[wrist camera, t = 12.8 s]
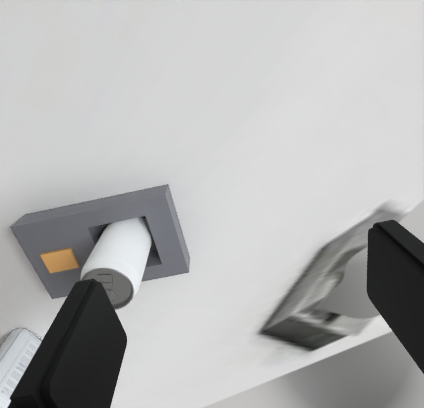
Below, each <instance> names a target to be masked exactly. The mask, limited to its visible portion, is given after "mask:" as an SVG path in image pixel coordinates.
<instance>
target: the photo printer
mask: <svg viewBox="0 0 424 408" xmlns="http://www.w3.org/2000/svg"><path fill="white" fill-rule="evenodd" d="M41 342H42V341H40V340H39V339H38V338H37V337H36V336H34V335H33V334H32V333H31V332H29V331H28V330H26V329H23V328H18V329H15V330H13V331H12V332H11V333H10V334H9V336H8V337H7V339H6V340H5V341H4V343H3V344H2V345H1V347H0V408H8V406H9V404H10V402H11V400H10V399H9V398H10V396H11V395H12V393H13V391H14V389H15V388H16V386H17V384H18V382H19V381H20V379H21V377H22V375H23V374H24V372H25V370H26V368H27V367H28V365H29V363H30V361H31V360H32V358H33V356H34V354H35V353H36V351H37V349H38V347H39V346H40V344H41Z"/></svg>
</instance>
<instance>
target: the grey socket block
mask: <svg viewBox="0 0 424 408" xmlns="http://www.w3.org/2000/svg"><path fill="white" fill-rule="evenodd" d="M142 216H146V219H147V222H148V225H149V228H150V231H151V233H152V236H153V239H154V242H155V245H156V248H157V251H155V252H150V253H149V255H148V259H147V262H146V266H145V270H144V273H143V277H142V280H141V282H142V281H147V280H152V279H158V278H163V277H168V276H173V275H178V274H183V273H189V263H190V257H189V253H188V250H187V246H186V243H185V240H184V236H183V233H182V229H181V226H180V223H179V219H178V216H177V212H176V209H175V206H174V202H173V199H172V196H171V192H170V189H169V185H168V184H167V185H163V186H158V187H153V188H148V189H144V190H139V191H134V192H130V193H125V194H120V195H115V196H111V197H106V198H101V199H96V200H92V201H87V202H82V203H77V204H73V205H68V206H63V207H58V208H54V209H49V210H44V211H40V212H35V213H30V214H25V215H24V216H23V217H22V218H21V219H19V220H18V221H17V222H16V223H15V224H14V225H12V226H11V227H10V228H11V230H12V231H13V233H14V235H15V237H16V238H17V240H18V242H19V243H20V245H21V247H22V249H23V250H24V252H25V254H26V255H27V257H28V259H29V260H30V262H31V264H32V266H33V267H34V269H35V271H36V272H37V274H38V276H39V277H40V279H41V281H42V283H43V284H44V286H45V288H46V289H47V291H48V293H49V294H50V296H51V298H52V299H54V298H59V297H65V296H68V295H69V293H70V291H71V290H72V288H73V286H74V284H75V283H76V282H78V281H80V280H81V272H82V269H83V267H84V265H85V263H86V261H87V259H88V258H89V256H90V254H91V252H92V251H93V249H94V247H95V245H96V244H97V242H98V240H99V239H100V237H101V235H102V233H103V230H102V228H101V225H104V224H108V223H113V222H118V221H123V220H128V219H133V218H138V217H142Z"/></svg>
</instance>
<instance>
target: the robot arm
mask: <svg viewBox="0 0 424 408" xmlns="http://www.w3.org/2000/svg"><path fill="white" fill-rule="evenodd" d="M367 293H368V296H369V299H370V300H371V302H372V303H373V304H374V306H375V307H376V309H377V310H378V311H379V313H380V314H381V316H382V317H383V318H384V320H385V321H386V322H387V324H388V325H389V327H390V328H391V329H392V331H393V332H394V333H395V335H396V336H397V338H398V339H399V340H400V342H401V343H402V344H403V346H404V347H405V349H406V350H407V351H408V353H409V354H410V355H411V357H412V358H413V360H414V361H415V362H416V364H417V365H418V367H419V368H420V369H421V371H422V372H423V373H424V243H423V242H421V241H420V240H419V239H418V238H416V237H415V236H414V235H413V234H411V233H410V232H409V231H408V230H406V229H405V228H404V227H403V226H401V225H400V224H399V223H398V222H396V221H395V220H389V221H384V222H379V223H375V224H374V225H373V228H371V229H369V231H368V262H367ZM126 345H127V336H126V333H125V331H124V329H123V327H122V325H121V322H120V320H119V318H118V316H117V314H116V312H115V310H114V308H113V306H112V304H111V301H110V299H109V297H108V295H107V293H106V291H105V289H104V287H103V285H102V283H101V282H97V281H96V280H95V279H88V280H82V281H78V282H76V283H75V284H74V286H73V288H72V290H71V291H70V293H69V295H68V297H67V298H66V300H65V302H64V304H63V305H62V307H61V309H60V311H59V312H58V314H57V316H56V318H55V319H54V321H53V323H52V325H51V326H50V328H49V330H48V332H47V333H46V335H45V337H44V339H43V340H42V342H41V344H40V346H39V347H38V349H37V351H36V353H35V354H34V356H33V358H32V360H31V361H30V363H29V365H28V367H27V368H26V370H25V372H24V374H23V375H22V377H21V379H20V381H19V382H18V384H17V386H16V388H15V389H14V391H13V393H12V395H11V396H10V398H9V399H10V400H11V402H10V404H9V406H8V408H110V406H111V402H112V398H113V395H114V391H115V387H116V383H117V379H118V375H119V372H120V368H121V364H122V360H123V356H124V353H125V349H126Z"/></svg>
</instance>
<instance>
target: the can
mask: <svg viewBox="0 0 424 408" xmlns="http://www.w3.org/2000/svg"><path fill="white" fill-rule="evenodd" d="M152 239H153V236H152V233H151V231H150V228H149V225H148V222H147V220H146V219H145V218H143V217H138V218H133V219H128V220H123V221H118V222H113V223H108V225H107V227H106V228H105V230H104V232H103V233H102V235H101V237H100V239H99V240H98V242H97V244H96V245H95V247H94V249H93V251H92V252H91V254H90V256H89V258H88V259H87V261H86V263H85V265H84V267H83V269H82V272H81V280H80V281H82V280H88V279H95V280H96V281H97V282H101V283H102V285H103V287H104V289H105V291H106V293H107V295H108V297H109V299H110V301H111V304H112V306H113V308H114V310H116V309H120V308H122V307H124V306H126V305H127V304H128V303H129V302H130V301H131V300H132V298H133V296H134V295H135V294H136V293H137V291H138V289H139V287H140V284H141V280H142V277H143V273H144V270H145V266H146V262H147V259H148V255H149V251H150V247H151V244H152Z"/></svg>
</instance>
